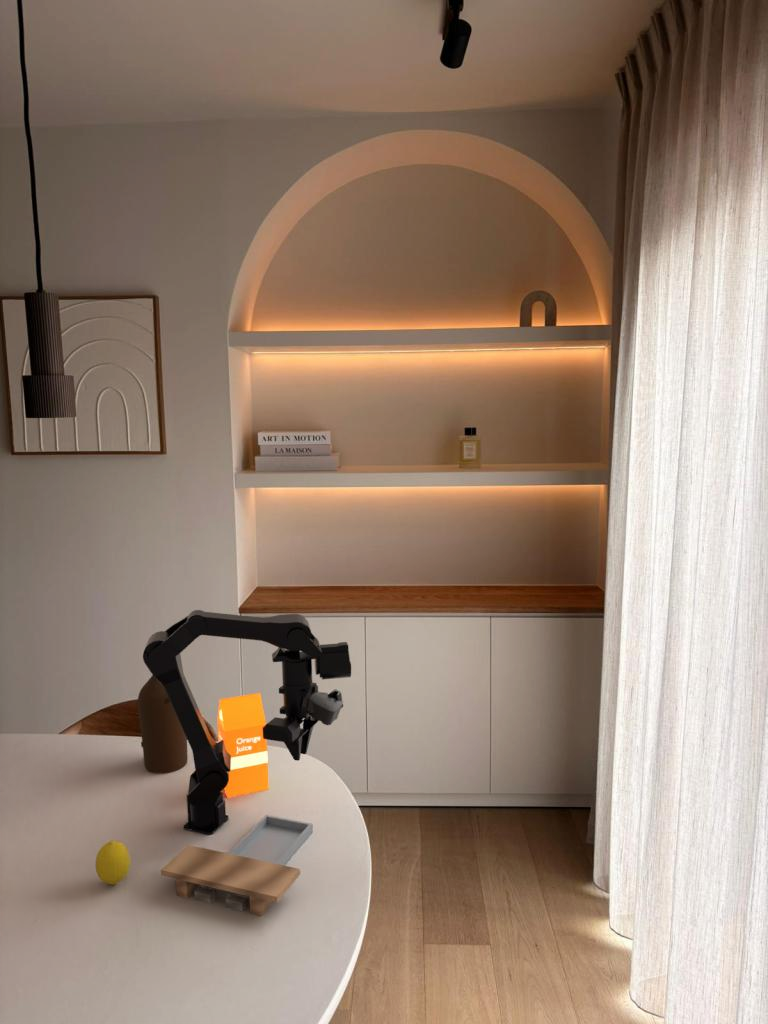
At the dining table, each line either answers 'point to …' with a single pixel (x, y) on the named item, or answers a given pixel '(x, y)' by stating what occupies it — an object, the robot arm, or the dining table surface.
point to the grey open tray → (273, 840)
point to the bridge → (229, 878)
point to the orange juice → (244, 743)
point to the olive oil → (160, 730)
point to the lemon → (112, 862)
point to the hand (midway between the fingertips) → (300, 756)
